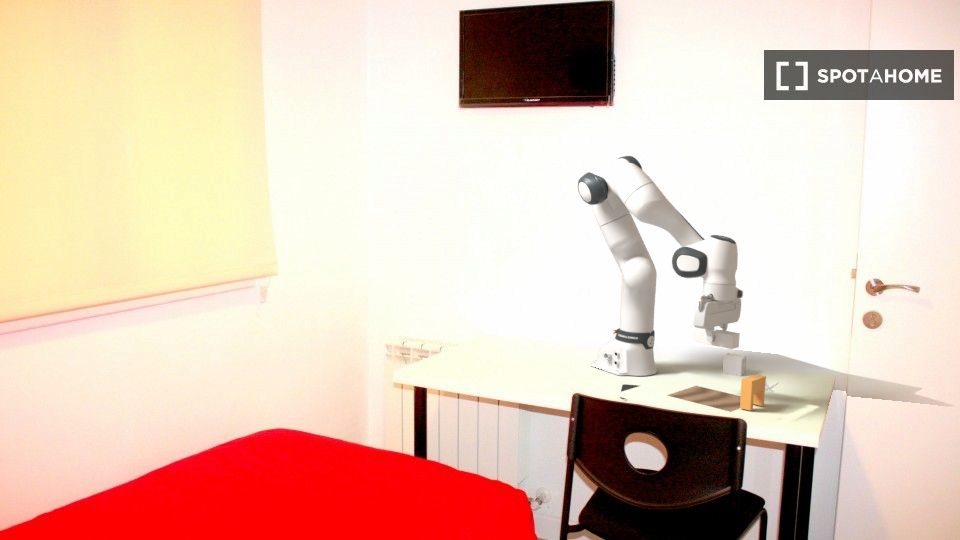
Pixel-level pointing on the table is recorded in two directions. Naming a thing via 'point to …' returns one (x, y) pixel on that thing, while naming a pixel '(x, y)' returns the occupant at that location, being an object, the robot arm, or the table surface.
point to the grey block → (734, 364)
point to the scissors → (769, 387)
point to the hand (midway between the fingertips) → (715, 340)
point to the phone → (627, 388)
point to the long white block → (717, 338)
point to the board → (709, 398)
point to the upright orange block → (752, 391)
